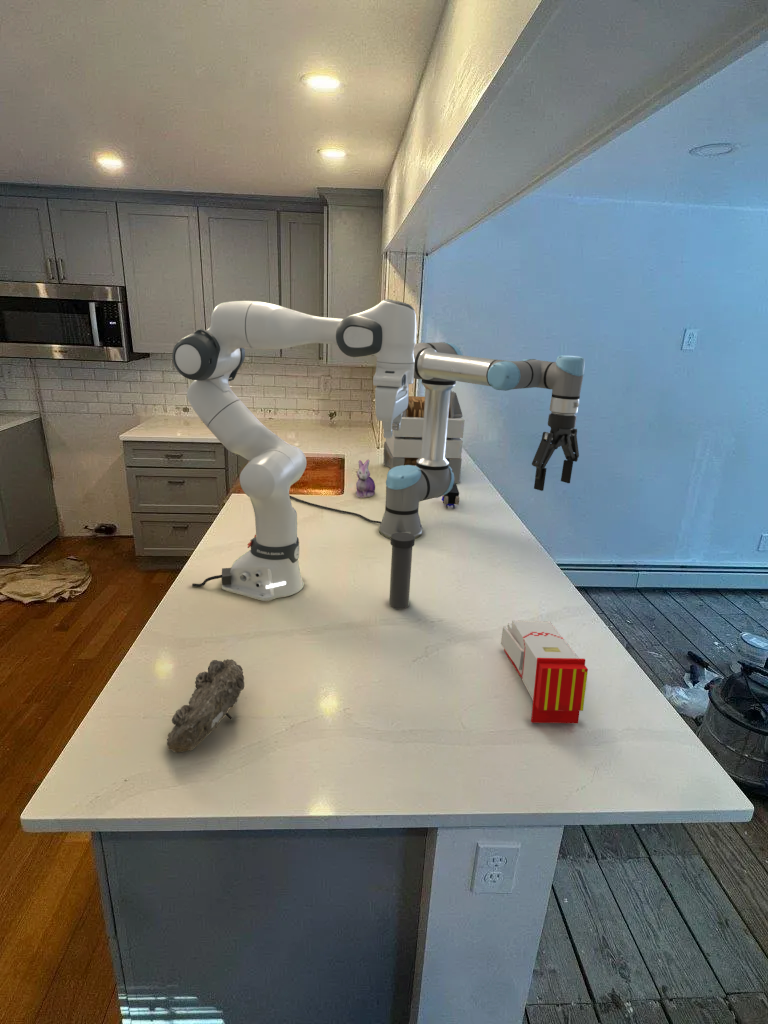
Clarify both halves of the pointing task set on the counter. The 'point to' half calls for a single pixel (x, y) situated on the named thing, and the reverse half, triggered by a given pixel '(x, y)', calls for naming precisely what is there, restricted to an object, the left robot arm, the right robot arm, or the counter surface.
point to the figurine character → (451, 497)
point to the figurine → (364, 481)
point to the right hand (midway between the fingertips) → (552, 485)
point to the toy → (547, 670)
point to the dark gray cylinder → (400, 577)
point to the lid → (402, 540)
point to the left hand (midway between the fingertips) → (392, 433)
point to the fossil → (206, 705)
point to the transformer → (409, 436)
